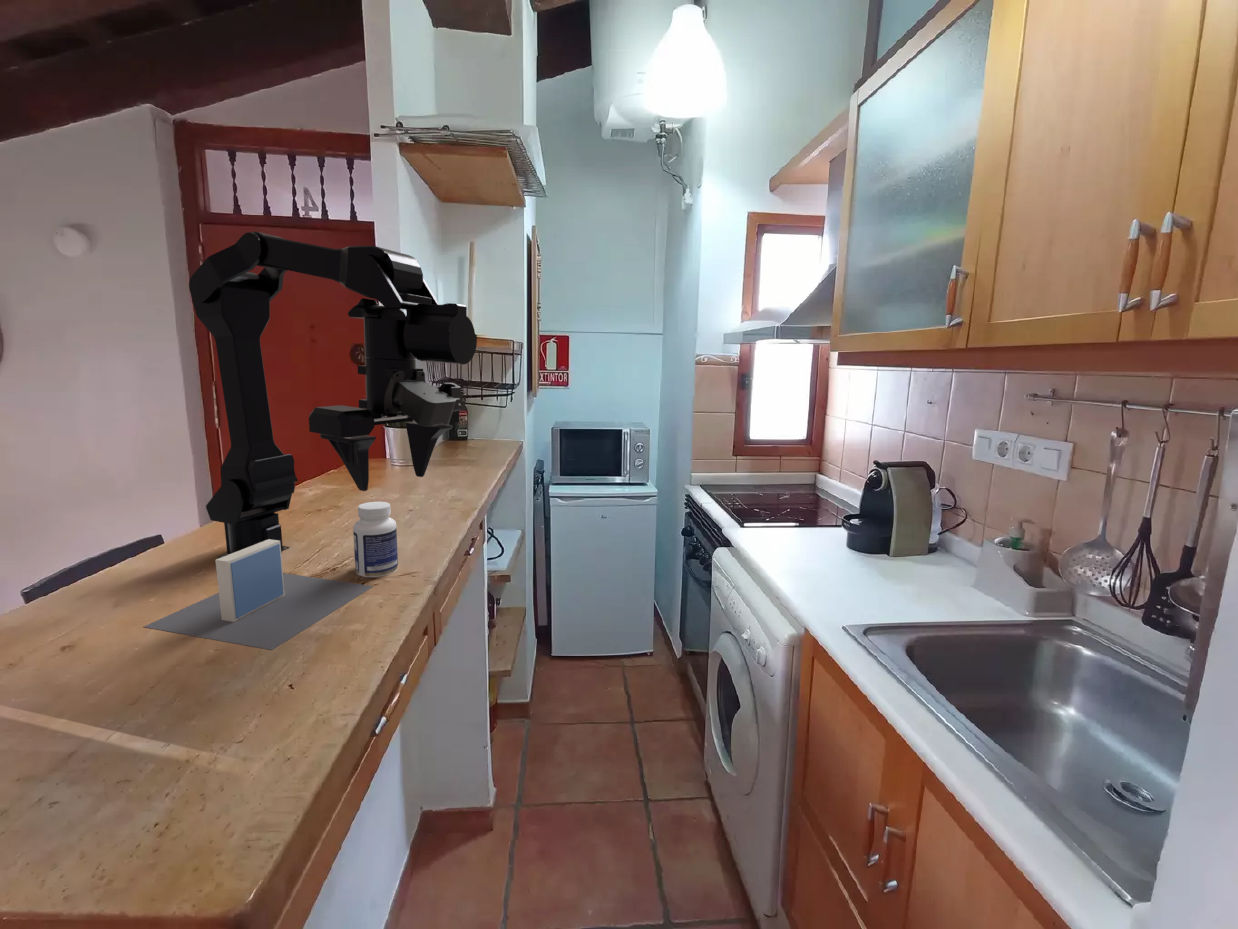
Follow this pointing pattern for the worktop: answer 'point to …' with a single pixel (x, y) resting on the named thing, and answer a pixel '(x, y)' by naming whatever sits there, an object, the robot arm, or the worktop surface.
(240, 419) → the robot arm
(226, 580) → the tile
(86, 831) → the worktop surface
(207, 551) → the worktop surface
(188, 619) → the mat
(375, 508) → the pill bottle
